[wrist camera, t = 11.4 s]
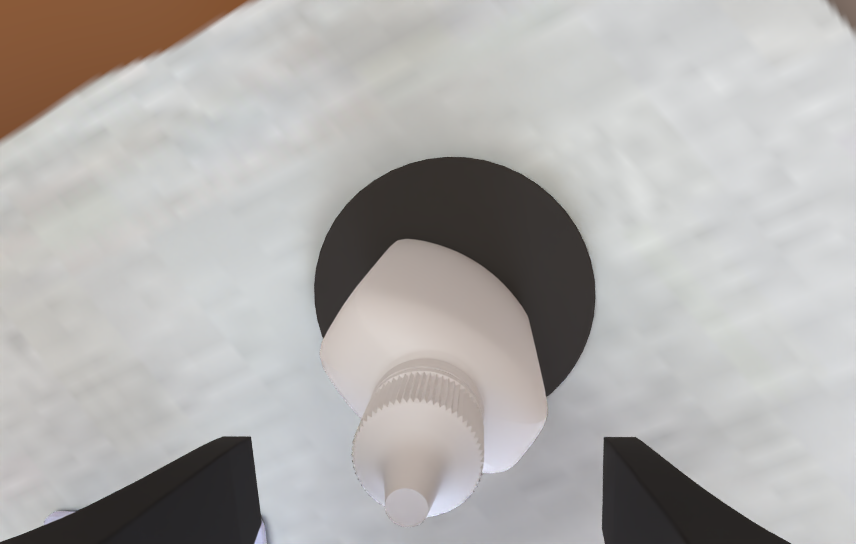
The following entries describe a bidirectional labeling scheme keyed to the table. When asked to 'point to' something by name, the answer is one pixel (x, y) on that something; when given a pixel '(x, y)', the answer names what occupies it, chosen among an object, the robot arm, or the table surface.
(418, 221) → the coaster
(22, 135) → the table surface
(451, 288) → the eye dropper bottle
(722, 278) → the table surface
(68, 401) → the table surface
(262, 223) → the table surface
